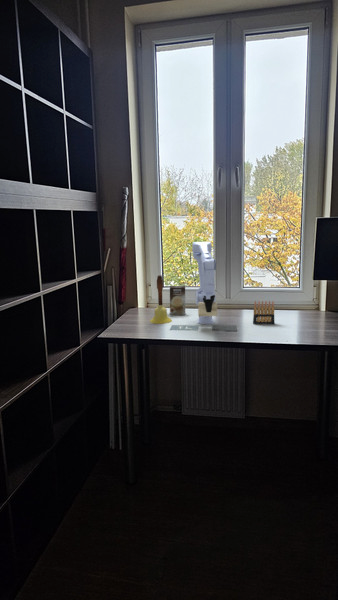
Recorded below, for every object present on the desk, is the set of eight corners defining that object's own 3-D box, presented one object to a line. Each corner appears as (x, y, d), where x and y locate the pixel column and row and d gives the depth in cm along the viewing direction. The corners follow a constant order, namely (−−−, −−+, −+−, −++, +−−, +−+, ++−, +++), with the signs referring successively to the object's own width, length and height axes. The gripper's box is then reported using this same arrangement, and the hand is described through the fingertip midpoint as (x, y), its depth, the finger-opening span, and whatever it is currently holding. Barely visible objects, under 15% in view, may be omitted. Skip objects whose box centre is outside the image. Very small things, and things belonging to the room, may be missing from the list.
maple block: (199, 314, 208) (198, 302, 207) (217, 313, 207) (216, 301, 206) (198, 316, 203) (197, 304, 202) (216, 316, 202) (216, 303, 201)
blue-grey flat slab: (171, 325, 214) (171, 325, 214) (198, 325, 212) (198, 325, 212) (169, 330, 204) (169, 330, 204) (197, 330, 202) (197, 330, 202)
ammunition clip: (273, 323, 213) (274, 300, 211) (274, 324, 211) (275, 301, 209) (252, 323, 214) (253, 300, 212) (253, 324, 212) (253, 301, 210)
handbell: (164, 325, 214) (162, 277, 210) (145, 322, 221) (143, 276, 216) (176, 320, 225) (175, 274, 220) (158, 317, 231) (156, 273, 227)
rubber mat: (212, 325, 211) (212, 325, 211) (236, 326, 209) (236, 325, 209) (212, 331, 201) (212, 330, 201) (237, 331, 200) (237, 330, 199)
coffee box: (169, 315, 237) (169, 287, 234) (169, 312, 244) (169, 285, 241) (185, 314, 237) (185, 287, 234) (185, 312, 243) (185, 285, 240)
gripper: (201, 281, 210) (202, 307, 212) (199, 286, 196) (199, 314, 198) (215, 281, 208) (215, 307, 211) (214, 286, 194) (214, 314, 197)
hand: (209, 310), depth 204 cm, fingers closed on maple block, 5 cm apart
